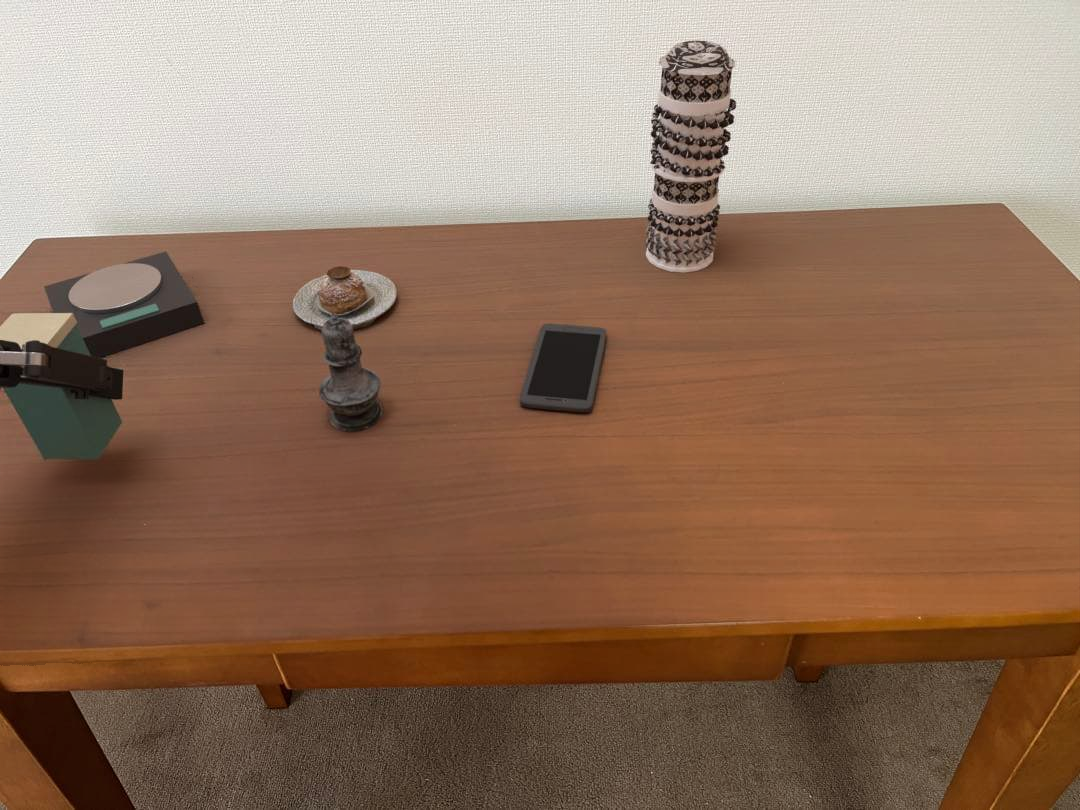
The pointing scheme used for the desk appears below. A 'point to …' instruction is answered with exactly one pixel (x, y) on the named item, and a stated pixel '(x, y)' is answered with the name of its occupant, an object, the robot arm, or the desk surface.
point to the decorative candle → (689, 155)
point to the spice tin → (59, 394)
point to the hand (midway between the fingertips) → (87, 384)
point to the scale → (133, 312)
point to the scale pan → (115, 288)
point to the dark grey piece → (348, 380)
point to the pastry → (345, 297)
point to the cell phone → (564, 368)
